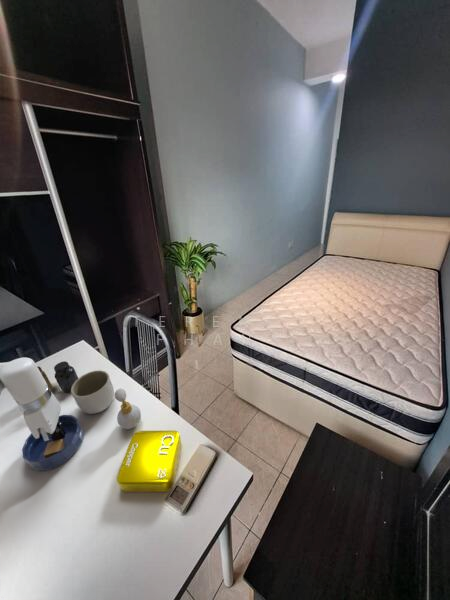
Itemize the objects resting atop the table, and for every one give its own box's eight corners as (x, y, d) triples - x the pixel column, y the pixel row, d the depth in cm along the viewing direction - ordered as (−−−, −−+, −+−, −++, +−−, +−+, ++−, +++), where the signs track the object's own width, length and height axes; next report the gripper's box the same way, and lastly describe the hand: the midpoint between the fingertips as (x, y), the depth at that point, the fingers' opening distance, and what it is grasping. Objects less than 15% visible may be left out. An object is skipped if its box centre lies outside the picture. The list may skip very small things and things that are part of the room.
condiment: (34, 391, 100) (21, 369, 94) (58, 381, 104) (47, 359, 98) (35, 403, 95) (21, 380, 89) (60, 391, 99) (48, 369, 93)
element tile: (137, 438, 80) (133, 429, 78) (182, 438, 79) (180, 429, 77) (118, 492, 67) (113, 483, 64) (172, 492, 66) (169, 483, 64)
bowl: (21, 479, 71) (13, 470, 68) (38, 432, 84) (32, 423, 81) (79, 460, 75) (73, 451, 72) (87, 418, 87) (82, 409, 85)
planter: (123, 397, 95) (116, 376, 90) (96, 423, 85) (86, 402, 80) (102, 386, 100) (94, 366, 95) (73, 410, 91) (62, 389, 86)
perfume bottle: (130, 437, 80) (121, 412, 75) (111, 424, 85) (101, 400, 79) (147, 418, 86) (139, 395, 80) (128, 407, 91) (119, 384, 85)
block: (48, 463, 74) (43, 455, 72) (52, 450, 77) (47, 442, 75) (63, 458, 75) (58, 451, 73) (66, 446, 78) (62, 438, 76)
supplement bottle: (58, 391, 99) (46, 369, 93) (72, 379, 105) (62, 357, 99) (70, 395, 97) (59, 373, 91) (84, 383, 103) (74, 361, 97)
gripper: (29, 382, 74) (53, 421, 83) (8, 425, 62) (39, 465, 71) (56, 375, 76) (77, 413, 85) (42, 415, 64) (68, 455, 72)
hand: (60, 437), depth 78 cm, fingers closed
